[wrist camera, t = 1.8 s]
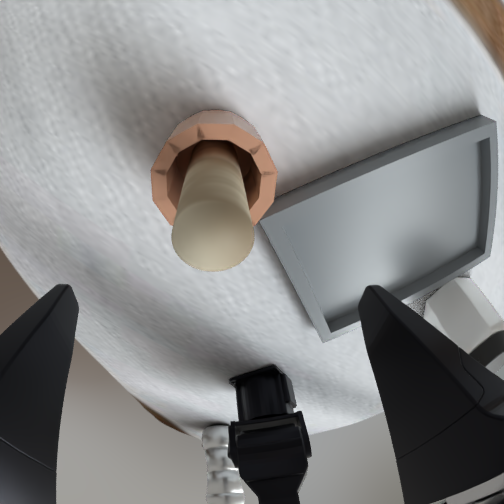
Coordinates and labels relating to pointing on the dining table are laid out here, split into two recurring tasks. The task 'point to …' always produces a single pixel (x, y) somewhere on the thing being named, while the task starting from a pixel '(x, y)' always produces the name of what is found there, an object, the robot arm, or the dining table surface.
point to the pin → (213, 210)
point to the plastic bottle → (221, 468)
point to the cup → (214, 128)
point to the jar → (468, 321)
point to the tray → (389, 223)
